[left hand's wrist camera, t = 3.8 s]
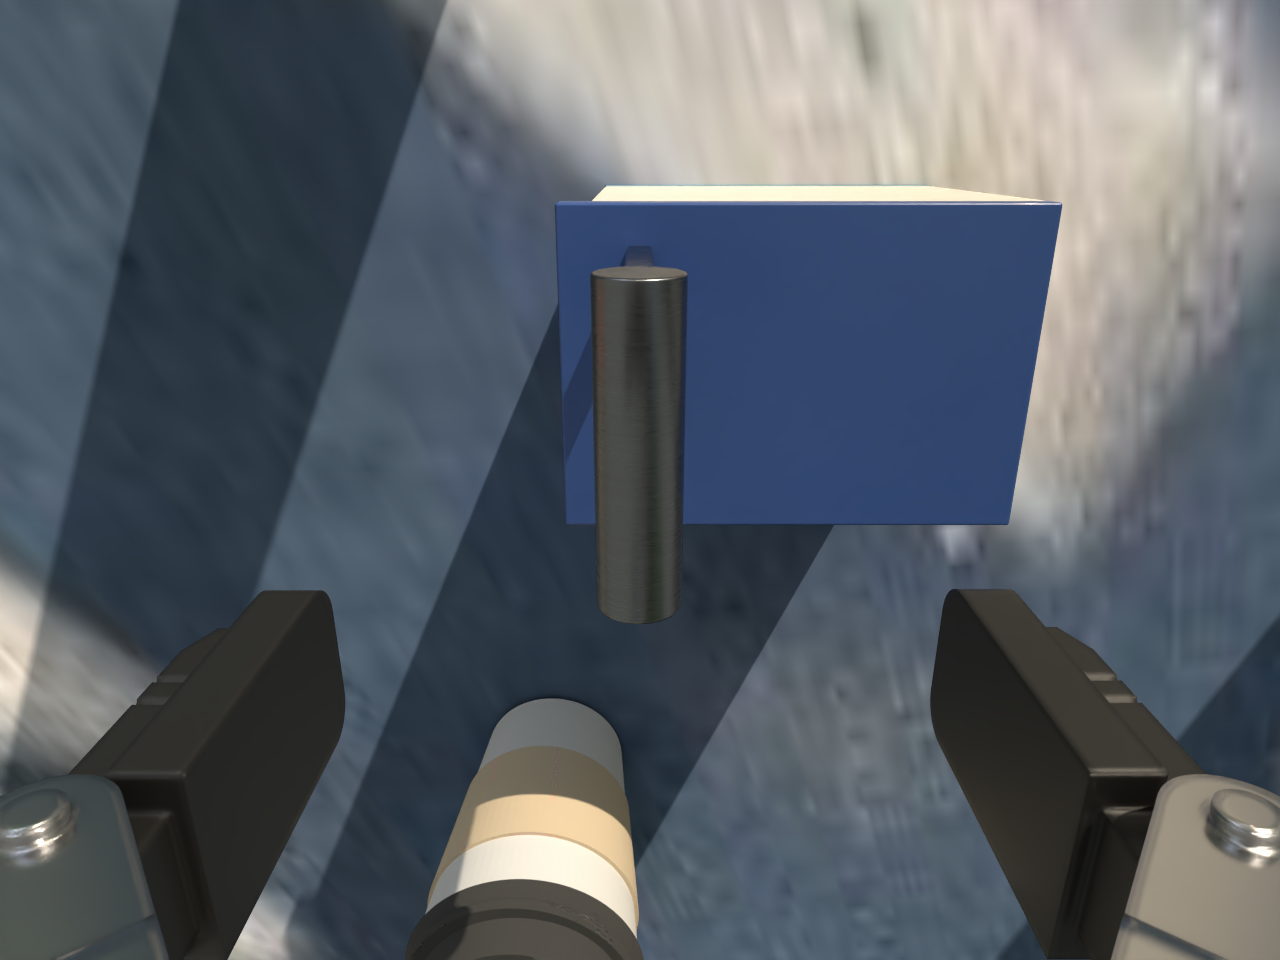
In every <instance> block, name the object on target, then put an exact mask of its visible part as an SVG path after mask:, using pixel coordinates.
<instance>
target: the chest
mask: <svg viewBox="0 0 1280 960" xmlns="http://www.w3.org/2000/svg"><path fill="white" fill-rule="evenodd" d="M592 201H1044V200H1036V199H1028V198H1020V197H1012V196H1004V195H996V194H988V193H980V192H972V191H964V190H956V189H948V188H940V187H932V186H928V185H605V188H604V189H603V190H602V191H601V192H600V193H599V194H598V195H597V196H596V197H595V198H594V199H593V200H592Z"/></svg>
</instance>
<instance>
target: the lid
mask: <svg viewBox="0 0 1280 960" xmlns="http://www.w3.org/2000/svg"><path fill="white" fill-rule="evenodd" d="M1061 210H1062V203H1059V202H1051V201H559V202H557V203H556V204H555V224H556V253H557V283H558V312H559V341H560V370H561V399H562V428H563V457H564V487H565V516H566V524H568V525H595V535H596V583H597V605H598V608H599V609H600V611H601V612H602V613H603V614H604V615H606V616H607V617H609V618H611V619H613V620H616V621H619V622H624V623H630V624H648V623H655V622H659V621H662V620H665V619H667V618H670V617H671V616H673V615H674V614H675V613H676V612H677V611H678V610H679V608H680V606H681V603H682V555H683V525H1008V524H1009V519H1010V513H1011V507H1012V501H1013V495H1014V489H1015V483H1016V477H1017V471H1018V465H1019V459H1020V453H1021V447H1022V441H1023V435H1024V429H1025V424H1026V418H1027V412H1028V406H1029V400H1030V394H1031V388H1032V382H1033V376H1034V370H1035V364H1036V358H1037V352H1038V346H1039V340H1040V334H1041V329H1042V323H1043V317H1044V311H1045V305H1046V299H1047V293H1048V287H1049V281H1050V275H1051V269H1052V263H1053V257H1054V251H1055V245H1056V240H1057V234H1058V228H1059V222H1060V216H1061Z"/></svg>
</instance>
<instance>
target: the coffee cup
mask: <svg viewBox="0 0 1280 960" xmlns="http://www.w3.org/2000/svg"><path fill="white" fill-rule="evenodd" d="M638 919H639V911H638V900H637V889H636V879H635V868H634V858H633V847H632V837H631V826H630V816H629V806H628V802H627V798H626V796H625V789H624V777H623V765H622V752H621V746H620V742H619V739H618V737H617V735H616V733H615V731H614V729H613V728H612V727H611V725H610V724H609V723H608V722H607V721H606V720H605V719H604V718H603V717H602V716H601V715H600V714H598V713H597V712H595V711H594V710H592V709H591V708H589V707H587V706H585V705H582V704H580V703H577V702H574V701H570V700H565V699H554V698H549V699H539V700H534V701H530V702H527V703H524V704H522V705H519V706H517V707H516V708H514V709H512V710H511V711H509V712H508V713H507V714H506V715H505V716H504V717H503V718H502V719H501V720H500V721H499V722H498V724H497V725H496V727H495V729H494V731H493V733H492V736H491V738H490V741H489V744H488V747H487V749H486V752H485V755H484V757H483V760H482V763H481V765H480V768H479V771H478V773H477V774H476V776H475V777H474V779H473V780H472V782H471V784H470V786H469V789H468V792H467V794H466V797H465V799H464V802H463V805H462V807H461V810H460V813H459V815H458V818H457V820H456V823H455V826H454V828H453V831H452V834H451V836H450V839H449V841H448V844H447V847H446V849H445V852H444V855H443V857H442V860H441V863H440V865H439V868H438V870H437V873H436V876H435V878H434V881H433V884H432V886H431V889H430V892H429V897H428V906H427V911H426V913H425V915H424V916H423V918H422V919H421V920H420V921H419V923H418V924H417V926H416V927H415V929H414V931H413V932H412V935H411V937H410V939H409V942H408V946H407V950H406V957H405V960H643V955H642V951H641V948H640V945H639V943H638V941H637V936H636V931H637V927H638Z"/></svg>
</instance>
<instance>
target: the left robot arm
mask: <svg viewBox="0 0 1280 960" xmlns="http://www.w3.org/2000/svg"><path fill="white" fill-rule="evenodd" d="M930 706H931V717H932V723H933V728H934V732H935V735H936V738H937V741H938V743H939V745H940V747H941V749H942V751H943V753H944V755H945V757H946V759H947V761H948V763H949V765H950V767H951V769H952V771H953V773H954V775H955V777H956V779H957V781H958V783H959V785H960V787H961V789H962V791H963V793H964V795H965V796H966V798H967V800H968V802H969V804H970V806H971V808H972V810H973V812H974V814H975V816H976V818H977V820H978V822H979V824H980V826H981V828H982V830H983V832H984V834H985V836H986V838H987V840H988V842H989V844H990V846H991V848H992V850H993V852H994V854H995V856H996V858H997V860H998V862H999V864H1000V866H1001V868H1002V870H1003V872H1004V874H1005V876H1006V878H1007V880H1008V882H1009V884H1010V886H1011V888H1012V890H1013V892H1014V894H1015V896H1016V898H1017V900H1018V902H1019V904H1020V906H1021V908H1022V910H1023V912H1024V914H1025V916H1026V918H1027V920H1028V922H1029V924H1030V926H1031V928H1032V930H1033V932H1034V934H1035V936H1036V937H1037V939H1038V941H1039V943H1040V945H1041V947H1042V949H1043V951H1044V953H1045V955H1046V957H1047V959H1091V960H1280V796H1278V795H1276V794H1274V793H1272V792H1269V791H1267V790H1265V789H1263V788H1260V787H1257V786H1255V785H1252V784H1249V783H1246V782H1243V781H1240V780H1236V779H1232V778H1227V777H1223V776H1216V775H1208V774H1206V773H1205V772H1204V771H1203V770H1202V769H1201V768H1200V766H1199V765H1198V764H1197V763H1196V762H1195V761H1194V760H1193V759H1192V758H1191V757H1190V755H1189V754H1188V753H1187V752H1186V751H1185V750H1184V749H1183V748H1182V747H1181V746H1180V744H1179V743H1178V742H1177V741H1176V740H1175V739H1174V738H1173V737H1172V736H1171V735H1170V733H1169V732H1168V731H1167V730H1166V729H1165V728H1164V727H1163V726H1162V725H1161V724H1160V722H1159V721H1158V720H1157V719H1156V718H1155V717H1154V716H1153V715H1152V714H1151V712H1150V711H1149V710H1148V709H1147V708H1146V707H1145V706H1144V705H1143V704H1142V703H1137V697H1136V696H1135V695H1134V694H1133V693H1132V692H1131V690H1130V689H1129V688H1128V687H1127V686H1126V685H1125V684H1124V683H1123V682H1122V681H1117V675H1116V674H1115V673H1114V672H1113V671H1112V670H1111V668H1110V667H1109V666H1108V665H1107V664H1106V663H1105V662H1104V661H1103V660H1102V659H1101V657H1100V656H1099V655H1098V654H1097V653H1096V652H1095V651H1094V650H1093V649H1092V648H1090V647H1089V646H1087V645H1085V644H1084V643H1082V642H1080V641H1079V640H1077V639H1075V638H1074V637H1072V636H1070V635H1069V634H1067V633H1065V632H1064V631H1062V630H1061V629H1059V628H1057V627H1045V626H1044V625H1043V624H1042V622H1041V621H1040V620H1039V619H1038V618H1037V617H1036V615H1035V614H1034V613H1033V612H1032V611H1031V609H1030V608H1029V607H1028V606H1027V605H1026V604H1025V602H1024V601H1023V600H1022V599H1021V598H1020V597H1019V595H1018V594H1017V593H1016V592H1015V591H1013V590H1011V589H952V590H950V591H949V592H948V594H947V596H946V598H945V601H944V605H943V610H942V617H941V624H940V631H939V638H938V645H937V652H936V659H935V666H934V673H933V680H932V686H931V697H930ZM344 715H345V692H344V684H343V677H342V671H341V664H340V657H339V650H338V643H337V637H336V630H335V623H334V616H333V610H332V605H331V601H330V599H329V596H328V595H327V593H325V592H324V591H263V592H261V593H260V594H258V595H257V597H256V598H255V599H254V600H253V601H252V602H251V604H250V605H249V606H248V607H247V608H246V609H245V611H244V612H243V613H242V614H241V615H240V616H239V618H238V619H237V620H236V621H235V622H234V623H233V625H232V626H231V627H230V628H229V629H217V630H215V631H213V632H212V633H210V634H208V635H207V636H205V637H203V638H202V639H200V640H199V641H197V642H195V643H194V644H192V645H190V646H189V647H187V648H185V649H184V650H182V651H181V652H180V653H179V654H178V655H177V656H176V657H175V658H174V659H173V660H172V662H171V663H170V664H169V665H168V666H167V667H166V668H165V669H164V670H163V671H162V672H161V674H160V675H159V676H158V677H157V682H156V683H151V685H150V686H149V687H148V688H147V689H146V690H145V691H144V692H143V693H142V694H141V695H140V697H139V698H138V699H137V704H136V705H131V706H130V707H129V709H128V710H127V711H126V712H125V713H124V714H123V715H122V716H121V717H120V718H119V719H118V721H117V722H116V723H115V724H114V725H113V726H112V727H111V728H110V729H109V730H108V731H107V733H106V734H105V735H104V736H103V737H102V738H101V739H100V740H99V741H98V742H97V743H96V745H95V746H94V747H93V748H92V749H91V750H90V751H89V752H88V753H87V754H86V755H85V757H84V758H83V759H82V760H81V761H80V762H79V763H78V764H77V765H76V766H75V767H74V769H73V770H72V771H71V772H70V773H69V774H68V775H64V776H57V777H53V778H48V779H44V780H40V781H37V782H34V783H31V784H28V785H25V786H23V787H20V788H17V789H15V790H13V791H11V792H8V793H6V794H4V795H2V796H0V960H227V959H228V957H229V955H230V953H231V951H232V950H233V948H234V946H235V944H236V942H237V940H238V938H239V936H240V934H241V932H242V930H243V928H244V926H245V924H246V922H247V920H248V918H249V916H250V914H251V912H252V910H253V908H254V906H255V904H256V902H257V900H258V899H259V897H260V895H261V893H262V891H263V889H264V887H265V885H266V883H267V881H268V879H269V877H270V875H271V873H272V871H273V869H274V867H275V865H276V863H277V861H278V859H279V857H280V855H281V853H282V851H283V849H284V848H285V846H286V844H287V842H288V840H289V838H290V836H291V834H292V832H293V830H294V828H295V826H296V824H297V822H298V820H299V818H300V816H301V814H302V812H303V810H304V808H305V806H306V804H307V802H308V800H309V798H310V796H311V795H312V793H313V791H314V789H315V787H316V785H317V783H318V781H319V779H320V777H321V775H322V773H323V771H324V769H325V767H326V765H327V763H328V761H329V759H330V757H331V755H332V753H333V751H334V749H335V747H336V745H337V743H338V741H339V738H340V735H341V732H342V728H343V723H344Z"/></svg>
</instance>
